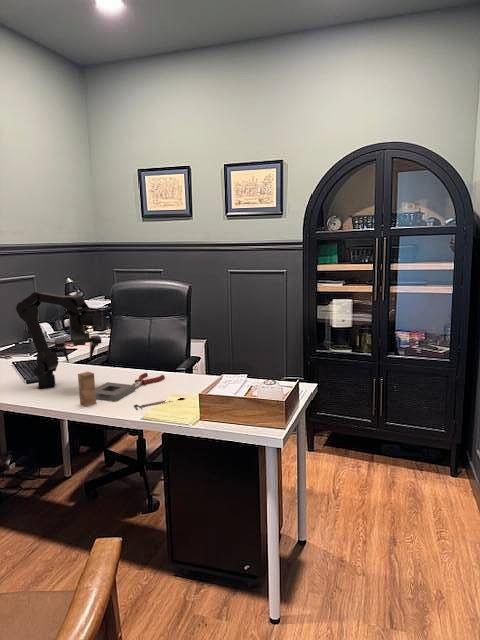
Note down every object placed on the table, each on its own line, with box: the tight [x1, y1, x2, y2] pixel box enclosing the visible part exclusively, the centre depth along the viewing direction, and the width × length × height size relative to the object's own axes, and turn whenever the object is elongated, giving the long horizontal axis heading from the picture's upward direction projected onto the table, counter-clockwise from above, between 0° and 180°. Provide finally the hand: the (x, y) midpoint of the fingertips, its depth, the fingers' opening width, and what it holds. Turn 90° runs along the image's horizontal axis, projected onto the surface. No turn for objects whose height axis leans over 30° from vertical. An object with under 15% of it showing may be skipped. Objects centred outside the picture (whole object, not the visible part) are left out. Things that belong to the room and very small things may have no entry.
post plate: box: [95, 381, 136, 402], centre depth 191 cm, size 14×14×2 cm
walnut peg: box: [77, 371, 97, 407], centre depth 180 cm, size 4×4×12 cm
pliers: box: [131, 372, 166, 389], centre depth 206 cm, size 12×20×3 cm, turn 157°
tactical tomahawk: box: [133, 399, 167, 411], centre depth 179 cm, size 21×7×1 cm, turn 117°
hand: (79, 360), depth 196 cm, fingers open, 9 cm apart
